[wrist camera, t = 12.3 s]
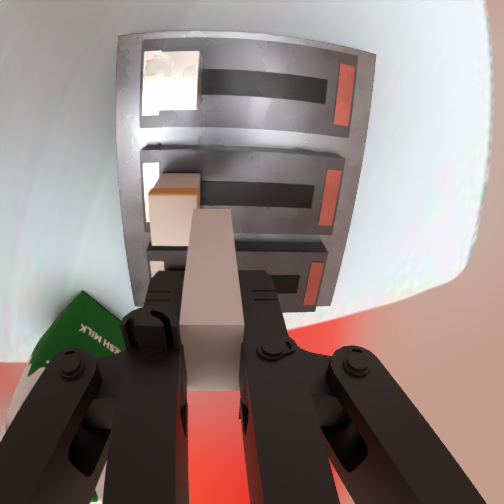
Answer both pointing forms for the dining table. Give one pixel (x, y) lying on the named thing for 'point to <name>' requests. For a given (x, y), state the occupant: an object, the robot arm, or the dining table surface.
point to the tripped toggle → (173, 208)
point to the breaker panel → (246, 149)
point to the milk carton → (67, 336)
